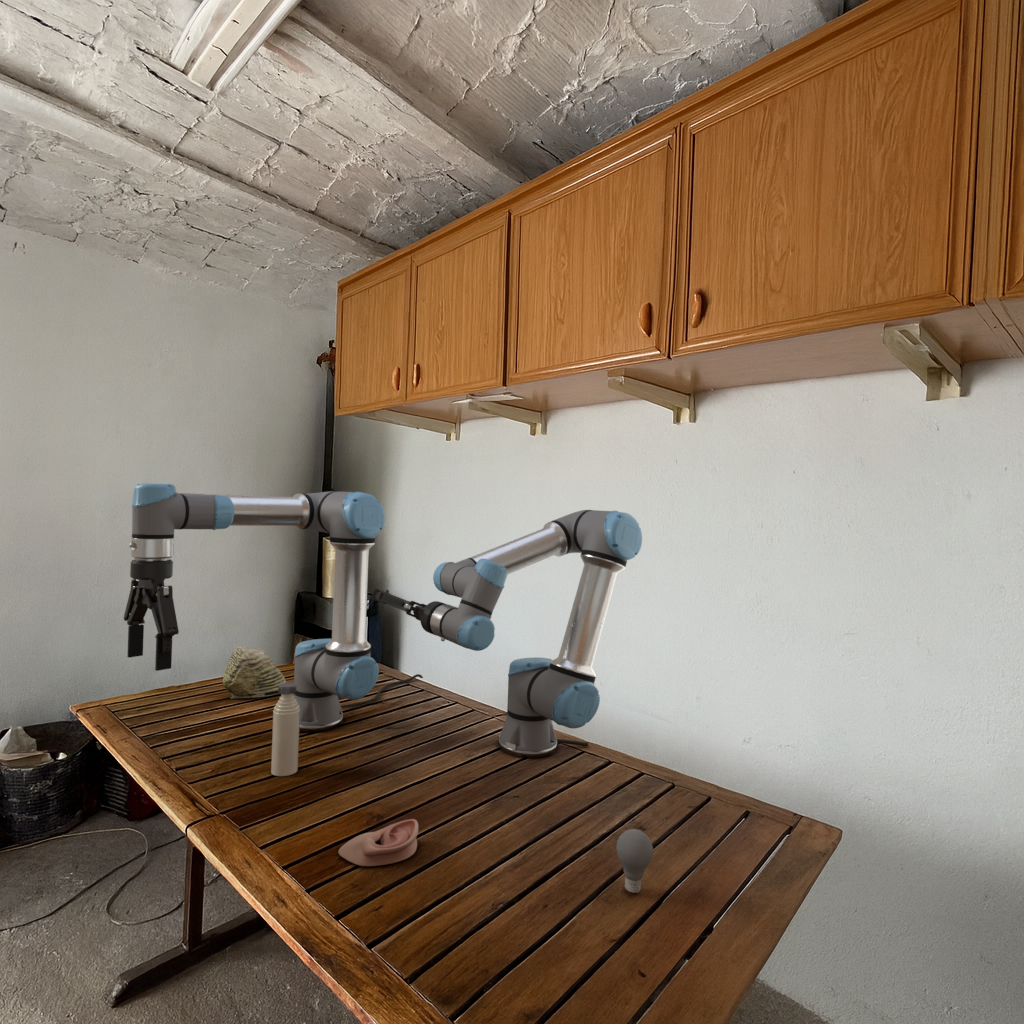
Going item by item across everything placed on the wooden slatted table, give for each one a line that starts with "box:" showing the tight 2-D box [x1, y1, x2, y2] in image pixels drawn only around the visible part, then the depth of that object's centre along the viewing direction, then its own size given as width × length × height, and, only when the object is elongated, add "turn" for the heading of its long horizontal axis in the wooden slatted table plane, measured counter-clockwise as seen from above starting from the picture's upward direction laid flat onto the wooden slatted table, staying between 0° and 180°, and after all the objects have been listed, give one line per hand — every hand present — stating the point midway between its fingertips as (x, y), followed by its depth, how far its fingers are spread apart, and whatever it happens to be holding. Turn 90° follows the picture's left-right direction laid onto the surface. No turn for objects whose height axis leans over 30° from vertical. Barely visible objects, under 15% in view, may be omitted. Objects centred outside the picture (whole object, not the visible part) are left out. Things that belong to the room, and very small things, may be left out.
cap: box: [278, 681, 297, 695], centre depth 145 cm, size 4×4×2 cm
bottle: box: [270, 693, 300, 777], centre depth 145 cm, size 6×6×20 cm
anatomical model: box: [337, 818, 419, 867], centre depth 114 cm, size 13×4×12 cm
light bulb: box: [615, 828, 654, 894], centre depth 106 cm, size 6×6×10 cm
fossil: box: [222, 646, 287, 699], centre depth 198 cm, size 9×18×15 cm, turn 132°
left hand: (148, 662), depth 129 cm, fingers open, 13 cm apart
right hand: (395, 602), depth 161 cm, fingers open, 13 cm apart
